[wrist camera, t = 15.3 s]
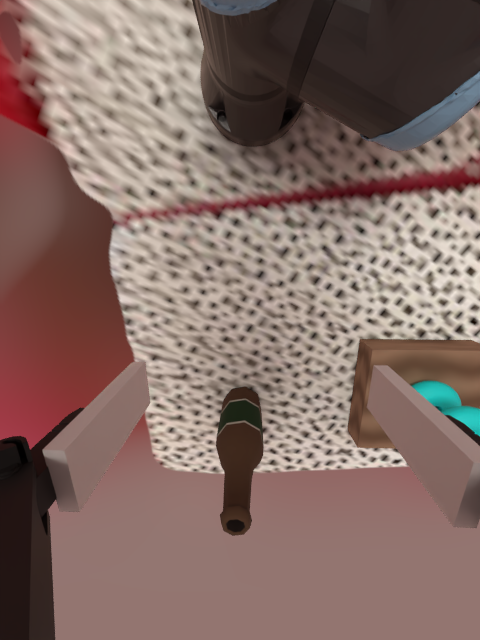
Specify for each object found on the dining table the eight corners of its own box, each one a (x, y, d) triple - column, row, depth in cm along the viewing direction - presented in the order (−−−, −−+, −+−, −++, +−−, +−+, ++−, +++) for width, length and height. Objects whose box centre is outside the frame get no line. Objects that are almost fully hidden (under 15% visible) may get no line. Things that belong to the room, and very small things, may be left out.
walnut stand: (360, 339, 47) (372, 349, 42) (471, 340, 46) (497, 351, 41) (347, 429, 52) (357, 447, 47) (446, 431, 51) (466, 450, 47)
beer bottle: (220, 414, 53) (196, 544, 30) (227, 381, 50) (206, 495, 27) (256, 421, 53) (261, 556, 30) (264, 389, 50) (276, 508, 27)
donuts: (477, 401, 33) (524, 443, 34) (426, 366, 42) (464, 400, 44) (416, 448, 35) (462, 485, 37) (380, 405, 45) (418, 435, 46)
